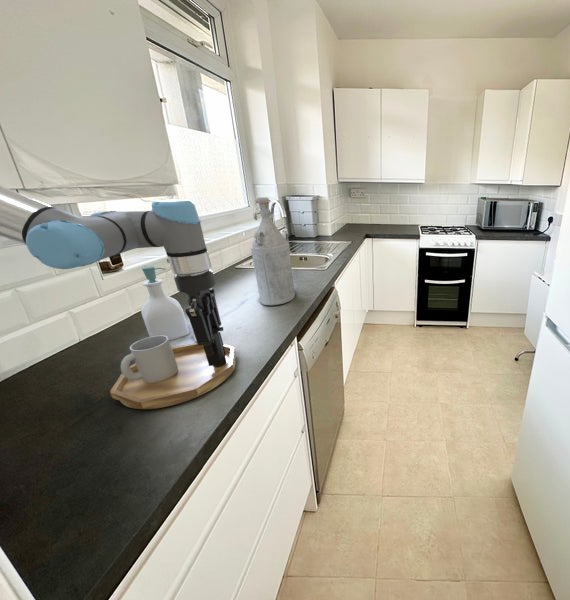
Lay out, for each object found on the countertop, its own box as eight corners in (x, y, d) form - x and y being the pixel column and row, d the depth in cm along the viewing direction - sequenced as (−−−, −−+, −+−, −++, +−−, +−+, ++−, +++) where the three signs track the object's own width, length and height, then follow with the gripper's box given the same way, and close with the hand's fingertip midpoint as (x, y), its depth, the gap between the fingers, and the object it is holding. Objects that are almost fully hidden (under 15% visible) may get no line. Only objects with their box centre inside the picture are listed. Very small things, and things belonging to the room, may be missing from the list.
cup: (184, 372, 76) (173, 340, 73) (134, 394, 69) (120, 360, 65) (171, 363, 80) (160, 332, 77) (122, 383, 73) (109, 350, 69)
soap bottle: (192, 337, 97) (171, 266, 88) (154, 348, 91) (127, 273, 82) (185, 327, 103) (165, 260, 95) (149, 337, 97) (124, 266, 89)
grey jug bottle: (253, 307, 118) (230, 198, 104) (271, 292, 134) (254, 195, 120) (286, 307, 118) (268, 197, 103) (300, 291, 134) (287, 194, 119)
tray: (137, 363, 83) (124, 329, 79) (237, 343, 92) (229, 312, 88) (100, 423, 62) (80, 381, 59) (233, 390, 71) (224, 352, 68)
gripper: (186, 263, 77) (210, 345, 86) (158, 285, 62) (190, 382, 71) (220, 260, 78) (240, 341, 87) (200, 281, 64) (226, 376, 73)
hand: (217, 359), depth 79 cm, fingers open, 3 cm apart
